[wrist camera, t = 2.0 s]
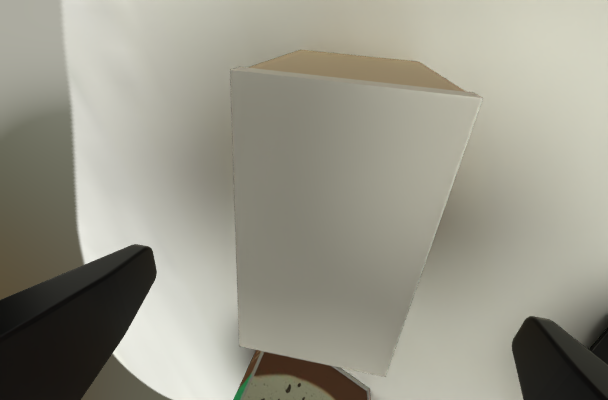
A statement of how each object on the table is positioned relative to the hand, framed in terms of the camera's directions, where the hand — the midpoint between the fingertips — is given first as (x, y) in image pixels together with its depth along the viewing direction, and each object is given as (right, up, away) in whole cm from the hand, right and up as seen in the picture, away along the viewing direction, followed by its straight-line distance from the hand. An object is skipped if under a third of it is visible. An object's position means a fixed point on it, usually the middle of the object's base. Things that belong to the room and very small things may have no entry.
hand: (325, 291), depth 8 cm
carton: (+1, +4, +8) cm, 9 cm away
